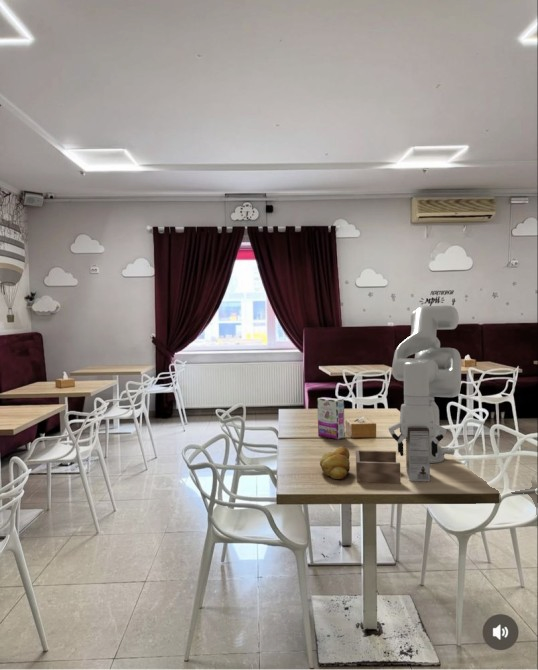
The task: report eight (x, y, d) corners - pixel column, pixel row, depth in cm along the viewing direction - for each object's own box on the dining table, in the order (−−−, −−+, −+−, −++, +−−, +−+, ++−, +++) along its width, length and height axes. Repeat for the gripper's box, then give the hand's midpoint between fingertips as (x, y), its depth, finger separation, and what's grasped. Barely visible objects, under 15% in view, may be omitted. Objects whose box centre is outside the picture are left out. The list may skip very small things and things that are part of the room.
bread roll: (351, 482, 136) (350, 456, 136) (319, 481, 138) (318, 455, 138) (349, 468, 149) (349, 444, 149) (320, 467, 150) (320, 444, 150)
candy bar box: (345, 437, 188) (344, 399, 187) (337, 440, 184) (337, 400, 184) (325, 433, 196) (324, 396, 195) (317, 435, 192) (316, 397, 192)
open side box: (395, 469, 147) (395, 451, 147) (400, 483, 134) (400, 463, 134) (356, 467, 149) (355, 450, 149) (357, 481, 136) (356, 462, 136)
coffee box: (405, 471, 145) (404, 422, 144) (426, 471, 143) (425, 422, 143) (409, 481, 136) (408, 429, 135) (431, 482, 134) (430, 429, 134)
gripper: (443, 398, 141) (444, 452, 141) (387, 398, 144) (388, 450, 144) (448, 403, 133) (449, 459, 134) (389, 402, 136) (390, 458, 137)
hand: (417, 455), depth 139 cm, fingers open, 9 cm apart
